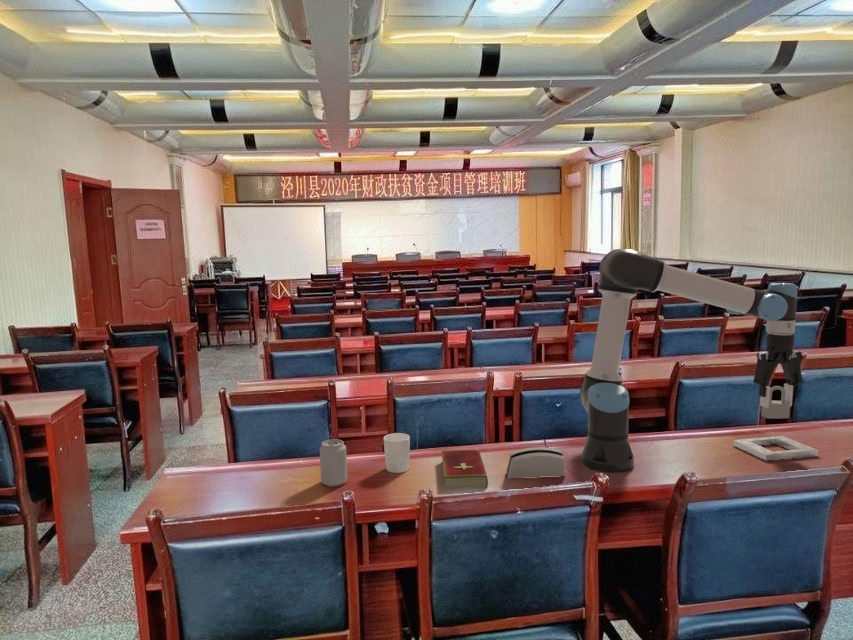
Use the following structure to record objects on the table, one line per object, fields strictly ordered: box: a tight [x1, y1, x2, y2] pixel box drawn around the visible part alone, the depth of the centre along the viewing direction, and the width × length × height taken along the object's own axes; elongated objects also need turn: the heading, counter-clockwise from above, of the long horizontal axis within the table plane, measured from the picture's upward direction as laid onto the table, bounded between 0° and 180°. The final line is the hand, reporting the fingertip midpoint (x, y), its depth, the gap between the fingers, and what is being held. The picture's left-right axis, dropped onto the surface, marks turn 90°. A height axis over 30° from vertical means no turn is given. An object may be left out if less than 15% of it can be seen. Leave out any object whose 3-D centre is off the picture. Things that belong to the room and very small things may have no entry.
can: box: [319, 438, 348, 488], centre depth 164 cm, size 8×8×12 cm
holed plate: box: [732, 435, 819, 462], centre depth 181 cm, size 18×14×2 cm
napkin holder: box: [506, 447, 566, 478], centre depth 165 cm, size 17×5×10 cm, turn 92°
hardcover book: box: [440, 448, 489, 489], centre depth 169 cm, size 12×21×4 cm, turn 1°
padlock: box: [761, 385, 791, 420], centre depth 179 cm, size 7×4×10 cm, turn 89°
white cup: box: [383, 432, 411, 474], centre depth 173 cm, size 8×8×10 cm
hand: (775, 405), depth 179 cm, fingers closed on padlock, 7 cm apart
